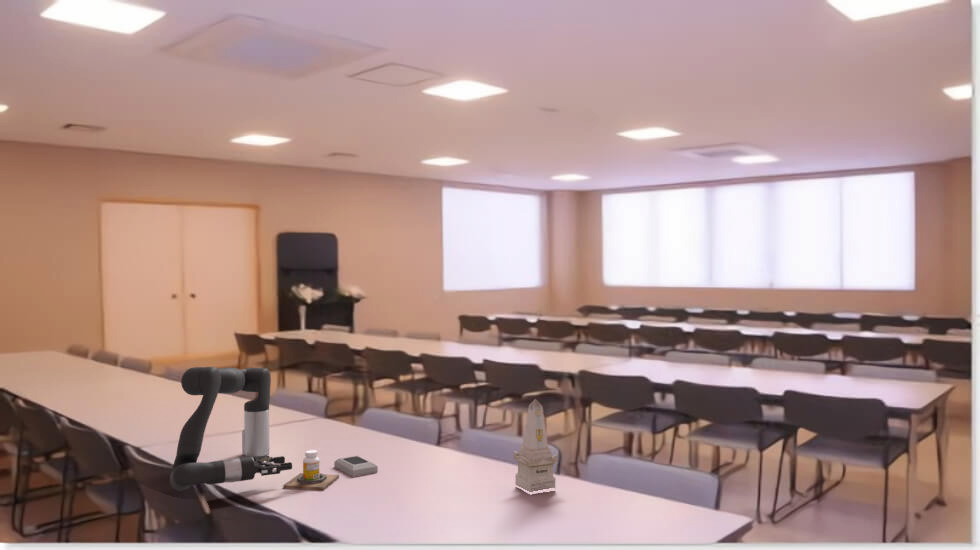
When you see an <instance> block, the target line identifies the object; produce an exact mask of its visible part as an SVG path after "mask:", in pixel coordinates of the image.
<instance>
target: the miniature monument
mask: <svg viewBox="0 0 980 550" xmlns="http://www.w3.org/2000/svg"><path fill="white" fill-rule="evenodd" d="M526 415H527V417H526V422H525V428H524V429H525V430H524V433H523V441H522V445H521V446H520V449H519V450H518V451H516V450H514V451H513V459H514V460H516V461H517V473H515V483H514V484H515V485H517V486H519V487H521V488H523V489H525V490H527V491H529V492H533V491H538V490H543V489H549V488H555V489H556V477H555V476H554V464H556V463H558V454H555V455H553V453H552V452H551V448H550V447H549V445H548V443H549V442H548V436H547V430H546V423H545V416H544V408H543V405H542V404H541V403H540V402H539V401H538V400H537V399H536V398H535V399H534V400H533V401H531V403H529V404H528V409H527V414H526Z"/></svg>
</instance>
